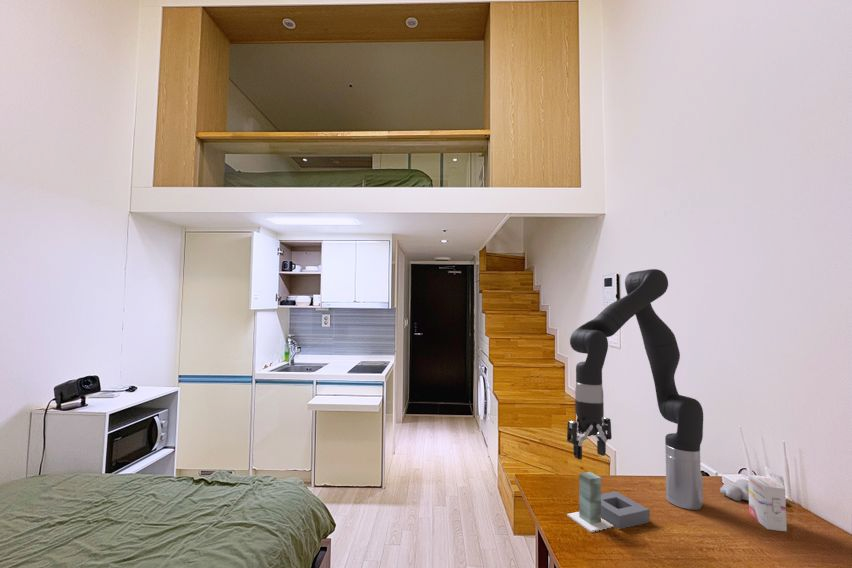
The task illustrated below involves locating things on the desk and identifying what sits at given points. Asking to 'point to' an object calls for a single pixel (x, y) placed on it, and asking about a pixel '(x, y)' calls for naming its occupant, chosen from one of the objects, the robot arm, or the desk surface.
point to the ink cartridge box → (768, 500)
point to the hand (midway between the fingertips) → (589, 456)
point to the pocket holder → (622, 510)
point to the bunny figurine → (736, 490)
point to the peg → (590, 497)
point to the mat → (590, 527)
